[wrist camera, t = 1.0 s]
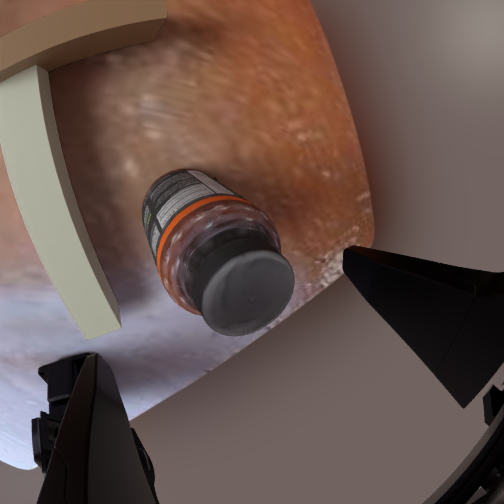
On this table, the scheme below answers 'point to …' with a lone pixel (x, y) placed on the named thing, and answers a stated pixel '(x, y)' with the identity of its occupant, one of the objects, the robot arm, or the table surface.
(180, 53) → the table surface
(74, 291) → the wall board
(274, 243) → the supplement bottle
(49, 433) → the robot arm
